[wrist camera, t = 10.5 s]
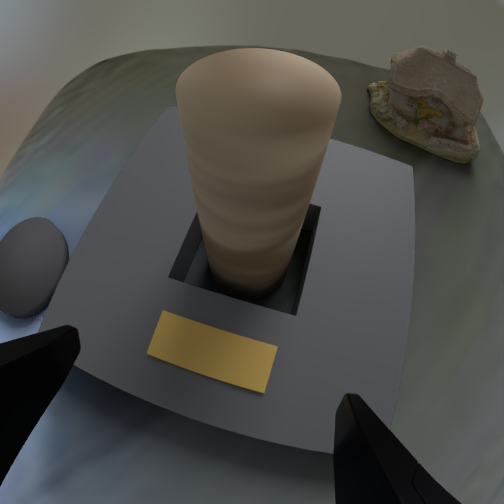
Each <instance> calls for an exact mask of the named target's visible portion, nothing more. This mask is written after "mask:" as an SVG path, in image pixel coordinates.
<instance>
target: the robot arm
mask: <svg viewBox="0 0 504 504" xmlns="http://www.w3.org/2000/svg"><path fill="white" fill-rule="evenodd" d="M80 350H81V344H80V338H79V332H78V329H77V328H76V327H73V326H71V325H64V326H60V327H57V328H53V329H50V330H46V331H43V332H39V333H36V334H32V335H29V336H25V337H22V338H18V339H15V340H11V341H8V342H4V343H1V344H0V486H1V484H2V482H3V480H4V478H5V477H6V475H7V473H8V471H9V470H10V467H11V466H12V464H13V462H14V460H15V459H16V457H17V455H18V454H19V452H20V450H21V449H22V447H23V445H24V444H25V442H26V440H27V439H28V437H29V435H30V434H31V432H32V431H33V429H34V427H35V426H36V424H37V423H38V421H39V419H40V418H41V416H42V415H43V413H44V412H45V410H46V409H47V407H48V406H49V404H50V403H51V401H52V400H53V398H54V397H55V395H56V394H57V392H58V391H59V389H60V388H61V386H62V384H63V383H64V381H65V379H66V377H67V375H68V374H69V372H70V370H71V368H72V366H73V364H74V362H75V361H76V359H77V357H78V355H79V353H80ZM333 462H334V480H335V503H336V504H461V503H460V502H459V501H458V500H457V499H455V498H454V497H453V496H452V495H451V494H450V493H449V492H447V491H446V490H445V489H444V488H443V487H442V486H441V485H440V484H439V483H438V482H437V481H435V480H434V479H433V477H432V476H431V475H430V474H429V473H428V472H427V471H426V470H425V469H424V468H423V467H422V466H421V464H420V463H418V461H417V460H416V459H415V458H414V457H413V456H412V454H411V453H410V452H409V451H408V450H407V449H406V448H405V447H404V445H403V444H402V443H401V442H400V441H399V440H398V439H397V438H396V436H395V435H394V434H393V433H392V432H391V431H390V430H389V428H388V427H387V426H386V425H385V424H384V423H383V422H382V420H381V419H380V418H379V417H378V416H377V415H376V414H375V412H374V411H373V410H372V409H371V408H370V407H369V406H368V404H367V403H366V402H365V401H364V400H363V399H362V398H361V396H360V395H359V394H355V393H346V394H345V395H344V396H343V398H342V400H341V402H340V404H339V406H338V408H337V411H336V414H335V432H334V450H333Z"/></svg>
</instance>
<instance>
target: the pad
mask: <svg viewBox="0 0 504 504" xmlns="http://www.w3.org/2000/svg"><path fill="white" fill-rule="evenodd" d="M68 261H69V252H68V246H67V242H66V239H65V237H64V235H63V234H62V233H61V231H60V230H59V229H58V228H57V227H56V226H55V225H54V224H53V223H52V222H51V221H50V220H48V219H45V218H41V217H35V218H30V219H26V220H24V221H22V222H20V223H18V224H17V225H16V226H14V227H13V228H12V229H11V230H10V231H9V232H8V233H7V234H6V235H5V236H4V237H3V239H2V240H1V242H0V309H1V310H2V311H4V312H5V313H7V314H9V315H11V316H13V317H16V318H29V317H32V316H35V315H37V314H38V313H40V312H42V311H43V310H44V309H45V308H46V307H47V306H48V305H49V304H50V301H51V299H52V297H53V295H54V292H55V290H56V288H57V286H58V283H59V281H60V279H61V277H62V275H63V273H64V271H65V269H66V266H67V264H68Z"/></svg>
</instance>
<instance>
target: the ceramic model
mask: <svg viewBox="0 0 504 504" xmlns="http://www.w3.org/2000/svg"><path fill="white" fill-rule="evenodd" d="M455 59H456V54H455V53H452V52H449V51H448V50H447V49H445V50H444V52H443V54H442V55H441V54H440V53H438V52H437V51H435V50H433V49H431V48H428V47H425V46H418V47H417V48H414V49H410V50H407V51H404V52H400V53H395V54H393V55H392V57H391V69H390V72H389V76H388V78H387V81H380V82H378V84H376V83H372V84H370V85H369V86H368V90H369V92H370V95H371V103H370V112H371V113H372V115H373V116H374V118H375V119H376V120H377V121H378V122H379V123H380V124H381V125H382V126H384V127H385V128H386V129H387V130H389V131H390V132H391V133H392V134H394V135H395V136H396V137H398V138H399V139H401V140H404V141H406V142H408V143H410V144H413V145H415V146H417V147H420V148H422V149H424V150H426V151H428V152H431V153H433V154H435V155H438V156H440V157H443V158H446V159H448V160H451V161H453V162H457V163H463V164H465V163H468V162H470V161H471V160H474V158H476V157H477V155H478V153H479V152H480V146H479V141H478V138H477V137H478V136H477V132H476V128H475V127H474V125H475V123H476V121H477V119H478V116H479V112H480V109H481V106H482V103H483V92H482V90H481V88H480V87H479V84H478V82H477V78H476V75H475V74H474V73H473V72H472V71H471V70H470V69H468V68H466V67H465V66H464V65H462V64H460V63H457V62H455Z"/></svg>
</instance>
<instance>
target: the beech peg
mask: <svg viewBox="0 0 504 504" xmlns="http://www.w3.org/2000/svg"><path fill="white" fill-rule="evenodd" d="M176 97H177V104H178V110H179V116H180V122H181V127H182V133H183V139H184V145H185V150H186V156H187V161H188V166H189V172H190V177H191V182H192V187H193V192H194V197H195V202H196V207H197V212H198V217H199V222H200V227H201V231H202V236H203V241H204V245H205V250H206V254H207V259H208V263H209V268H210V272H211V275H212V278H213V280H214V281H215V283H216V284H217V286H218V287H219V288H220V289H221V290H222V291H224V292H225V293H227V294H228V295H230V296H232V297H235V298H238V299H243V300H254V299H259V298H263V297H265V296H267V295H269V294H271V293H272V292H274V291H275V290H276V289H277V288H278V287H279V286H280V285H281V283H282V282H283V280H284V278H285V275H286V272H287V269H288V266H289V264H290V261H291V258H292V255H293V252H294V249H295V246H296V243H297V240H298V237H299V234H300V231H301V228H302V225H303V222H304V219H305V216H306V213H307V210H308V207H309V204H310V201H311V198H312V194H313V191H314V188H315V185H316V182H317V179H318V176H319V172H320V169H321V166H322V163H323V159H324V156H325V153H326V150H327V146H328V143H329V140H330V136H331V133H332V130H333V126H334V123H335V119H336V116H337V112H338V109H339V106H340V102H341V91H340V88H339V86H338V84H337V82H336V81H335V79H334V78H333V77H332V76H331V75H330V74H329V73H328V72H327V71H326V70H324V69H323V68H322V67H320V66H319V65H317V64H315V63H313V62H312V61H310V60H307V59H305V58H303V57H300V56H297V55H294V54H291V53H287V52H283V51H278V50H271V49H260V48H245V49H234V50H228V51H223V52H219V53H215V54H212V55H210V56H207V57H205V58H202V59H200V60H198V61H197V62H195V63H193V64H192V65H191V66H189V67H188V68H187V69H186V70H185V71H184V72H183V73H182V74H181V75H180V77H179V79H178V81H177V84H176Z"/></svg>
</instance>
